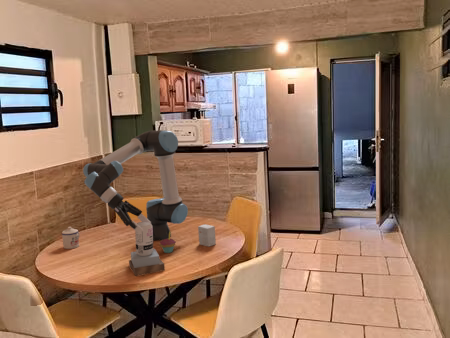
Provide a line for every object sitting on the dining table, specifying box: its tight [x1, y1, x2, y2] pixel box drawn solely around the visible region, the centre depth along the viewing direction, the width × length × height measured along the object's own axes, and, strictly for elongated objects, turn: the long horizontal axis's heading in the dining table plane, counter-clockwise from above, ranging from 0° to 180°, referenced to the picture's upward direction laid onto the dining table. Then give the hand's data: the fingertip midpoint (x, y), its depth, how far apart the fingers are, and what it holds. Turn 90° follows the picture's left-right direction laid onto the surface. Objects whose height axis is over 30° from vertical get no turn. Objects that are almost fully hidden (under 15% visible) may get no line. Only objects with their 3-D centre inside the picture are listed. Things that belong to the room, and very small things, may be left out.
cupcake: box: [159, 231, 177, 254], centre depth 237 cm, size 9×8×12 cm
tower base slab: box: [128, 258, 166, 277], centre depth 215 cm, size 14×14×4 cm
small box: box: [197, 224, 217, 247], centre depth 247 cm, size 8×6×10 cm
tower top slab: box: [130, 248, 161, 268], centre depth 214 cm, size 12×12×4 cm
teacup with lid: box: [61, 226, 80, 250], centre depth 255 cm, size 12×9×12 cm
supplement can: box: [134, 221, 154, 256], centre depth 213 cm, size 8×8×15 cm
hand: (145, 228), depth 212 cm, fingers open, 13 cm apart
